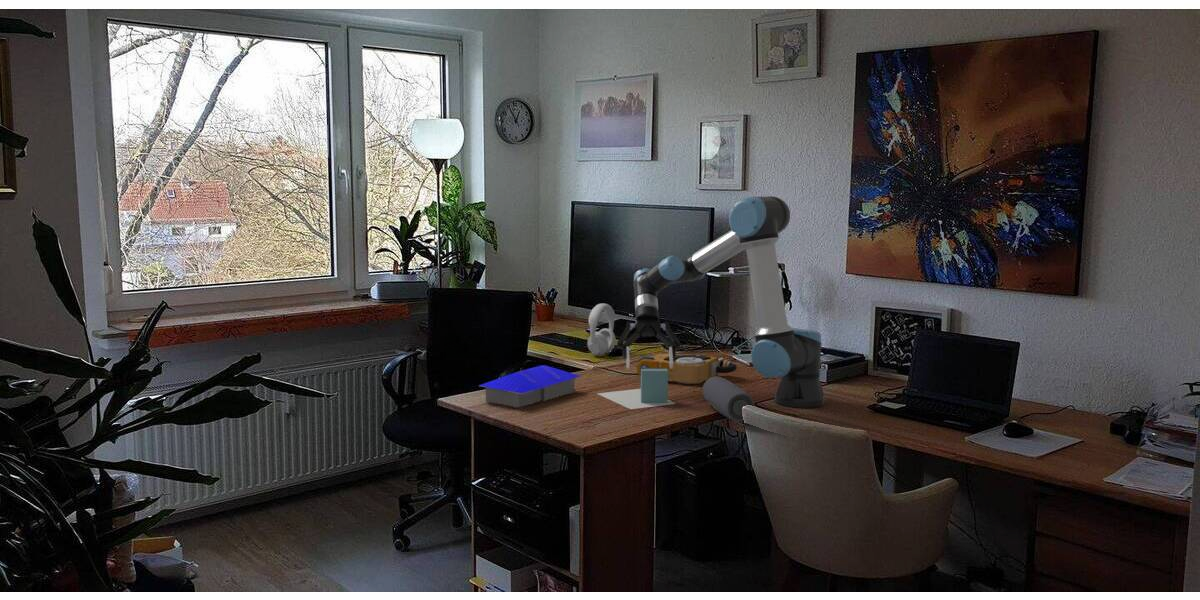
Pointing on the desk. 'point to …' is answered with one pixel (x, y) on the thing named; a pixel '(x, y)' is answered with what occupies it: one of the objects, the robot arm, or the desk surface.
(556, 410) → the desk surface
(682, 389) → the desk surface
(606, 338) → the headphones
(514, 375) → the blue topped grey box
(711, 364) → the device
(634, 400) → the mat
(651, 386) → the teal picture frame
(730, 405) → the bluetooth speaker
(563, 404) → the desk surface
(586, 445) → the desk surface
